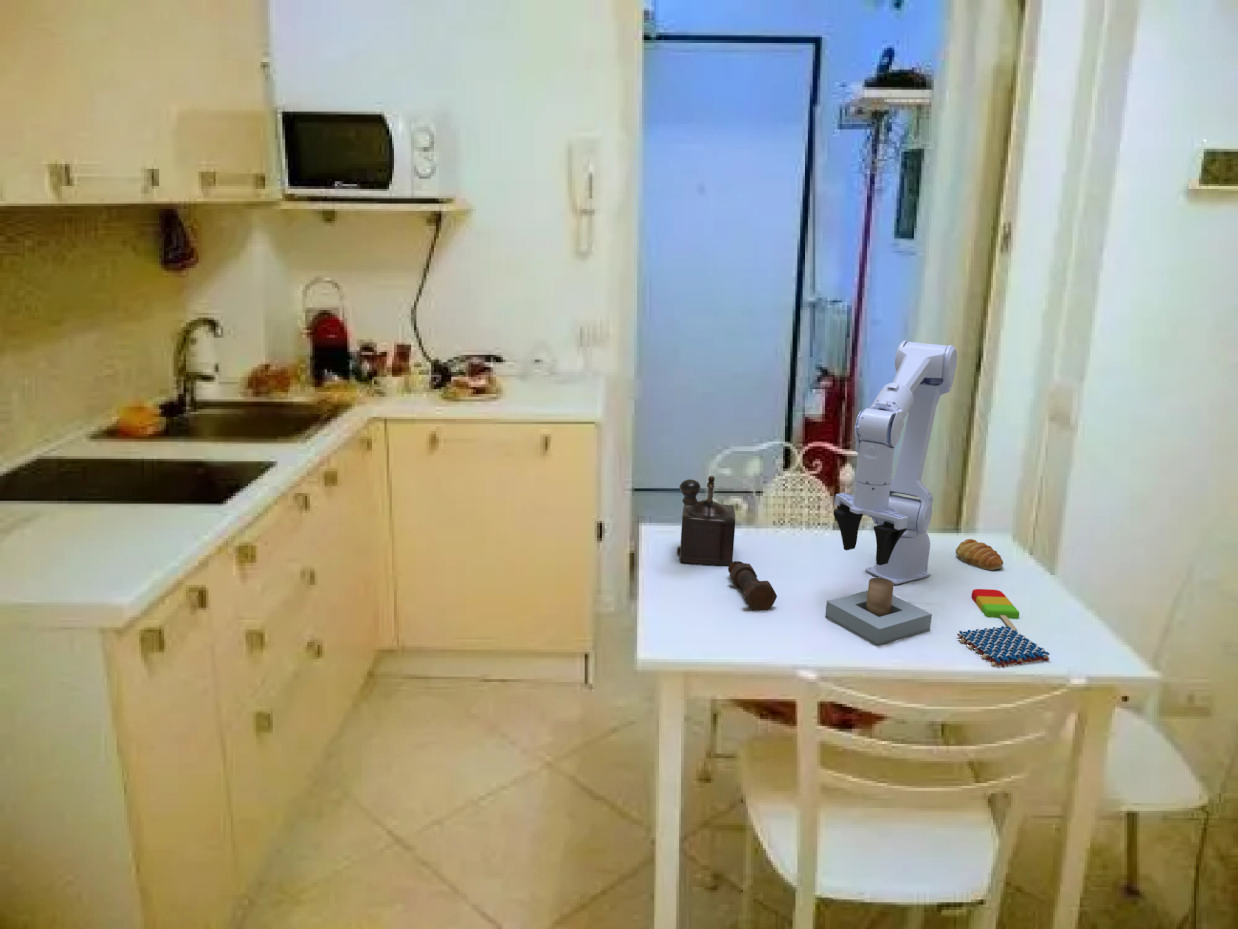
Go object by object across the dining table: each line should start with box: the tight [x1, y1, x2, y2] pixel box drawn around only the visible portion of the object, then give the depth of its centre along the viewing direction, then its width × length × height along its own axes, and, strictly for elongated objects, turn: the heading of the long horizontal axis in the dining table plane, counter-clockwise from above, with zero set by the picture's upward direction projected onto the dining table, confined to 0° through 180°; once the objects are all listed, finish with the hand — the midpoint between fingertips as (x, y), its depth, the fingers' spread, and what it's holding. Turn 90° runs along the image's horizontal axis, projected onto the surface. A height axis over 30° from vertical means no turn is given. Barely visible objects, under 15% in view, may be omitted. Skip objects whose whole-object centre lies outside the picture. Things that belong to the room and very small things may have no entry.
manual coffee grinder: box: [676, 475, 736, 567], centre depth 176 cm, size 16×11×18 cm
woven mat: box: [956, 625, 1051, 668], centre depth 144 cm, size 10×11×2 cm
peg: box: [866, 577, 895, 617], centre depth 151 cm, size 4×4×7 cm
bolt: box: [727, 560, 778, 612], centre depth 163 cm, size 6×5×15 cm
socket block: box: [824, 590, 933, 647], centre depth 152 cm, size 12×12×3 cm
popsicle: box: [971, 588, 1020, 632], centre depth 157 cm, size 6×15×2 cm, turn 177°
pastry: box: [955, 538, 1004, 571], centre depth 180 cm, size 9×7×4 cm
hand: (865, 556), depth 155 cm, fingers open, 7 cm apart
